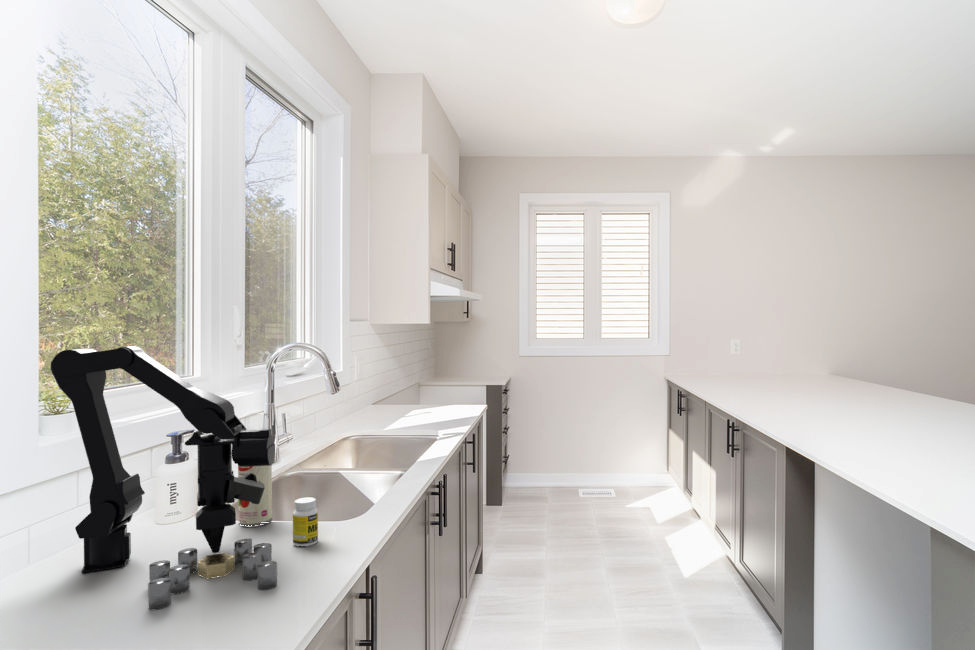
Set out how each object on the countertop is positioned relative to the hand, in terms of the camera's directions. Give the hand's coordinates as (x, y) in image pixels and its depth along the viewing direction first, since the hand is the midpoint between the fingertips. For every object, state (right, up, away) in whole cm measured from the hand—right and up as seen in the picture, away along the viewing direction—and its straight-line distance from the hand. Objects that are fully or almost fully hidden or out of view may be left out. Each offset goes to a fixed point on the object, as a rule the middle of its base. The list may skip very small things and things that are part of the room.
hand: (216, 552), depth 108 cm
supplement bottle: (+14, -1, +7) cm, 16 cm away
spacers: (+4, -1, -10) cm, 11 cm away
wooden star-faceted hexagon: (+3, -1, -6) cm, 7 cm away
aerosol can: (-1, -1, +20) cm, 20 cm away
